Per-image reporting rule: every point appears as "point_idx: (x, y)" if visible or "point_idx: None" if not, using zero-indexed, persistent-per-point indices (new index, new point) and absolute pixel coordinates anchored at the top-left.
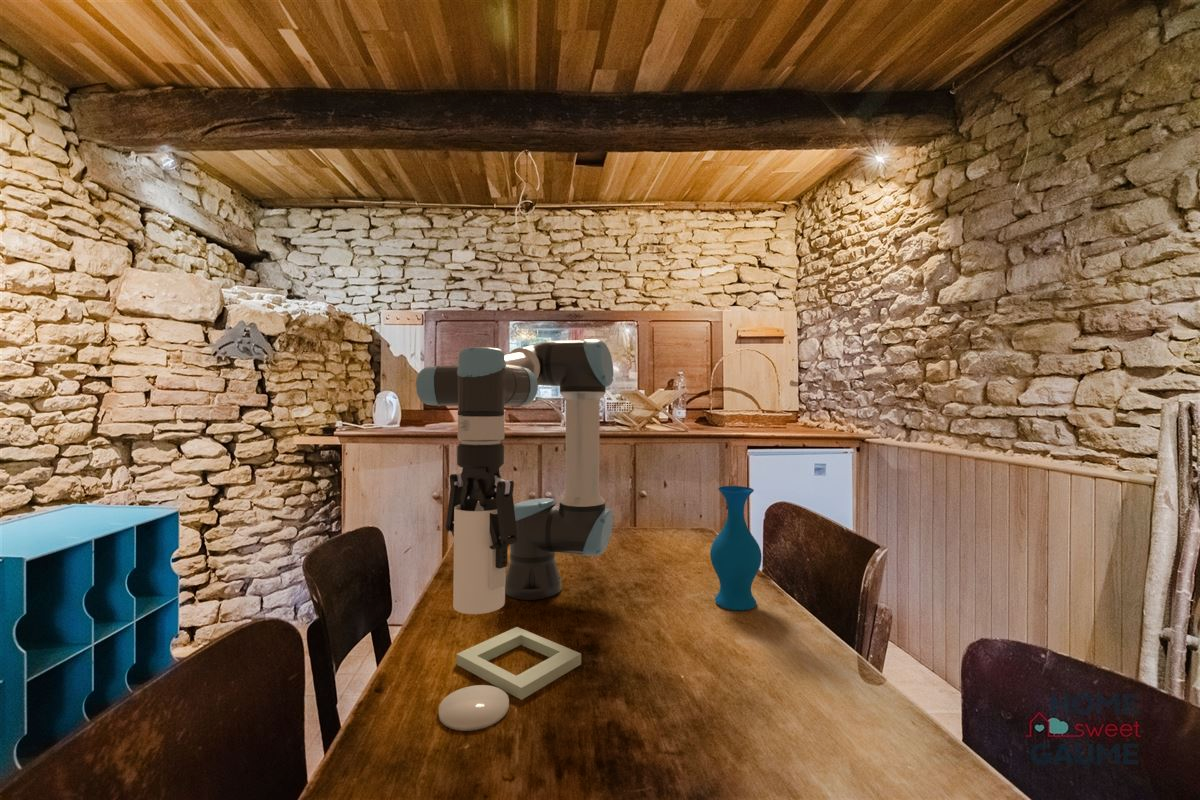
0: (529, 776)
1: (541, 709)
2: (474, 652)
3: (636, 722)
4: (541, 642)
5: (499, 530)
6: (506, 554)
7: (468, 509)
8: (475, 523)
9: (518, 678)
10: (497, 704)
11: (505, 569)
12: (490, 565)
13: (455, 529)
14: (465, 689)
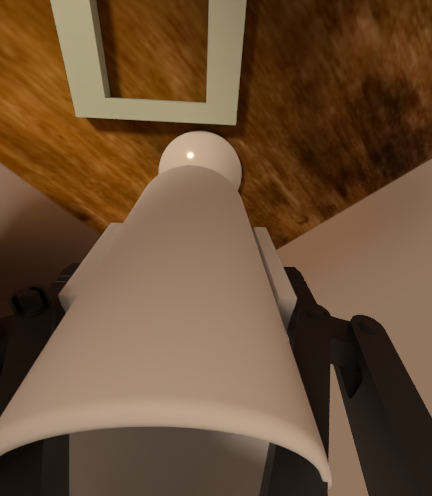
0: (318, 209)
1: (269, 122)
2: (91, 91)
3: (401, 59)
4: None
5: (345, 405)
6: (309, 294)
7: (60, 465)
8: (248, 457)
9: (214, 107)
10: (224, 159)
11: (275, 249)
12: None
13: (150, 427)
14: (165, 162)
